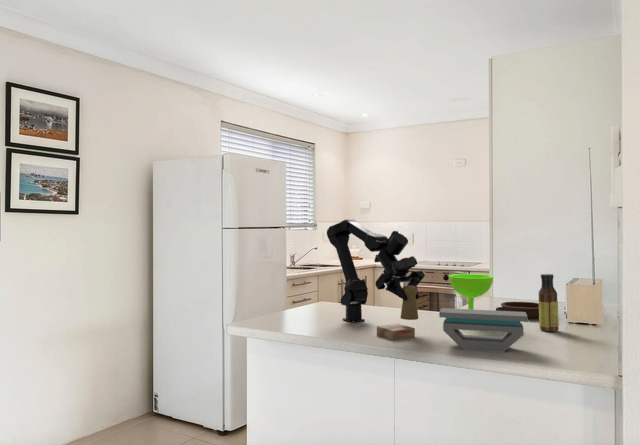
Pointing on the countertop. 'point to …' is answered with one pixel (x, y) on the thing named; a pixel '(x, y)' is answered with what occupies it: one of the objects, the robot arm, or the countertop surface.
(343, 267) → the robot arm
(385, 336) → the tan flat block
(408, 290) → the olive tall rounded piece
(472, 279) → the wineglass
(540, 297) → the sauce bottle
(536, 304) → the dish
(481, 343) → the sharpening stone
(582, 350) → the countertop surface
